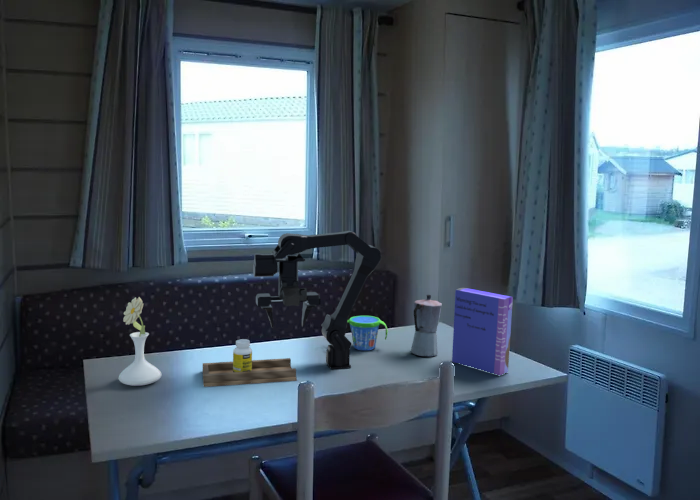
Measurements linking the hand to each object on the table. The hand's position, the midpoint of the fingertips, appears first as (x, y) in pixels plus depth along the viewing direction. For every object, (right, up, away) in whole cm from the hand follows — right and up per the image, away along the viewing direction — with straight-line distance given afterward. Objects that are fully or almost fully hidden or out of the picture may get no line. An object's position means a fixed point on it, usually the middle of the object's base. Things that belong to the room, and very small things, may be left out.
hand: (287, 327), depth 181 cm
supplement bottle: (-13, -13, -6) cm, 19 cm away
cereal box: (+59, -14, +8) cm, 61 cm away
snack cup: (+24, -11, +25) cm, 36 cm away
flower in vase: (-40, -14, -13) cm, 44 cm away
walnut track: (-11, -14, -5) cm, 18 cm away
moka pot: (+44, -12, +20) cm, 49 cm away
